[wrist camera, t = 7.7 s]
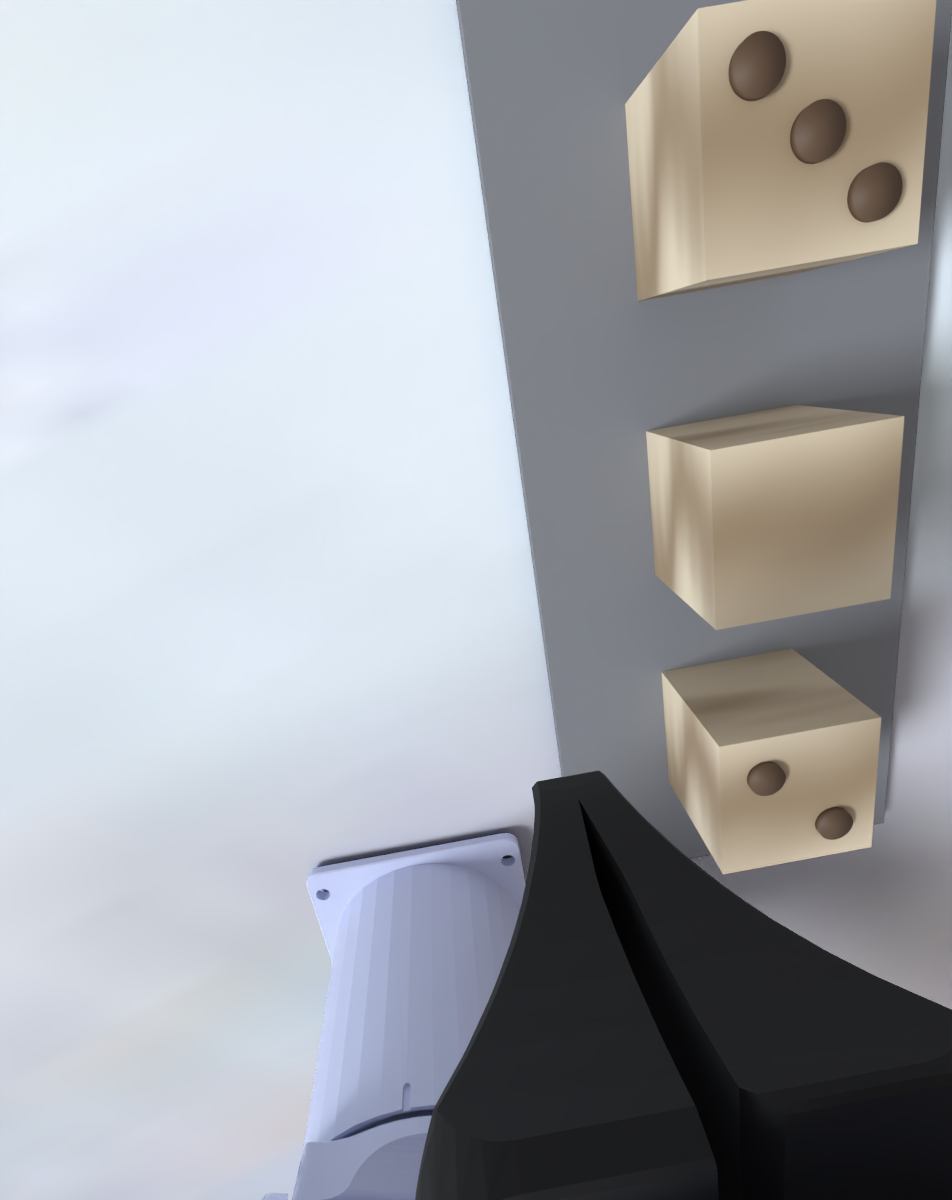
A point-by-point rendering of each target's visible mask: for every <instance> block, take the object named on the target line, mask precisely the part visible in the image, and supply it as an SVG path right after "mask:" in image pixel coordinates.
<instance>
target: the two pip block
mask: <svg viewBox="0 0 952 1200" xmlns="http://www.w3.org/2000/svg"><path fill="white" fill-rule="evenodd" d="M662 686H663V702H664V717H665V733H666V748H667V764H668V779H669V783H670V785H671V786H672V788H673V790H674V791H675V793H676V795H677V797H678V798H679V800H680V802H681V803H682V805H683V807H684V809H685V810H686V812H687V814H688V815H689V817H690V819H691V820H692V822H693V824H694V826H695V827H696V829H697V831H698V832H699V834H700V836H701V838H702V839H703V841H704V843H705V844H706V846H707V848H708V850H709V851H710V853H711V855H712V856H713V858H714V860H715V862H716V863H717V865H718V867H719V868H720V870H721V872H722V874H729V873H734V872H739V871H745V870H750V869H756V868H761V867H766V866H772V865H777V864H783V863H788V862H793V861H799V860H804V859H810V858H815V857H820V856H826V855H831V854H837V853H842V852H847V851H853V850H858V849H864V848H869V847H871V846H872V833H873V820H874V807H875V794H876V780H877V767H878V754H879V741H880V728H881V717H880V716H879V715H878V714H876V713H875V712H874V711H872V710H871V709H870V708H869V707H867V706H866V705H865V704H863V703H862V702H861V701H860V700H858V699H857V698H856V697H854V696H853V695H852V694H850V693H849V692H848V691H847V690H845V689H844V688H843V687H841V686H840V685H839V684H837V683H836V682H835V681H834V680H832V679H831V678H830V677H828V676H827V675H826V674H824V673H823V672H822V671H821V670H819V669H818V668H817V667H815V666H814V665H813V664H812V663H810V662H809V661H808V660H806V659H805V658H804V657H802V656H801V655H800V654H799V653H797V652H796V651H795V650H793V649H792V648H791V649H786V650H780V651H775V652H769V653H764V654H758V655H753V656H747V657H742V658H736V659H731V660H725V661H720V662H714V663H708V664H703V665H697V666H692V667H686V668H681V669H675V670H670V671H664V672H662Z"/></svg>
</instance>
